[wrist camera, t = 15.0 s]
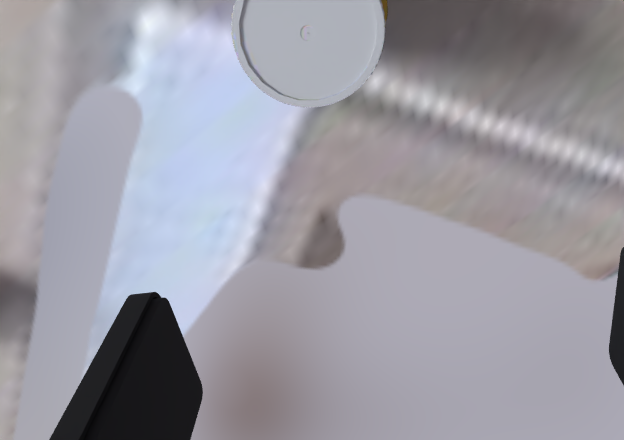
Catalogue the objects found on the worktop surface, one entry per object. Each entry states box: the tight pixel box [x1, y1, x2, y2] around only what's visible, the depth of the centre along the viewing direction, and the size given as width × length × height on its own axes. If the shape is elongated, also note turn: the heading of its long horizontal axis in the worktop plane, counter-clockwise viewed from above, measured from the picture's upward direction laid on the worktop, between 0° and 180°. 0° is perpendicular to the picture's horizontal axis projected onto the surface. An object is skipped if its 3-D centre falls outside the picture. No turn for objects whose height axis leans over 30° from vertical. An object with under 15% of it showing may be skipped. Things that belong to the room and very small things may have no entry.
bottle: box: [231, 0, 388, 107], centre depth 28 cm, size 7×7×15 cm
